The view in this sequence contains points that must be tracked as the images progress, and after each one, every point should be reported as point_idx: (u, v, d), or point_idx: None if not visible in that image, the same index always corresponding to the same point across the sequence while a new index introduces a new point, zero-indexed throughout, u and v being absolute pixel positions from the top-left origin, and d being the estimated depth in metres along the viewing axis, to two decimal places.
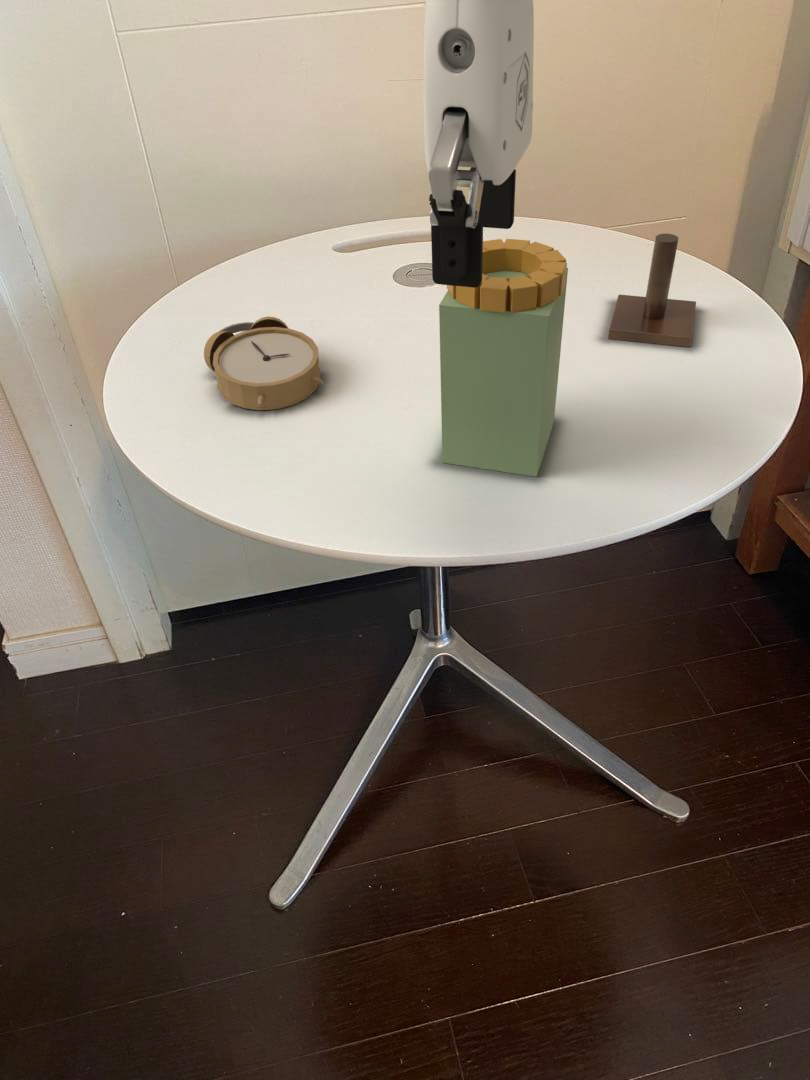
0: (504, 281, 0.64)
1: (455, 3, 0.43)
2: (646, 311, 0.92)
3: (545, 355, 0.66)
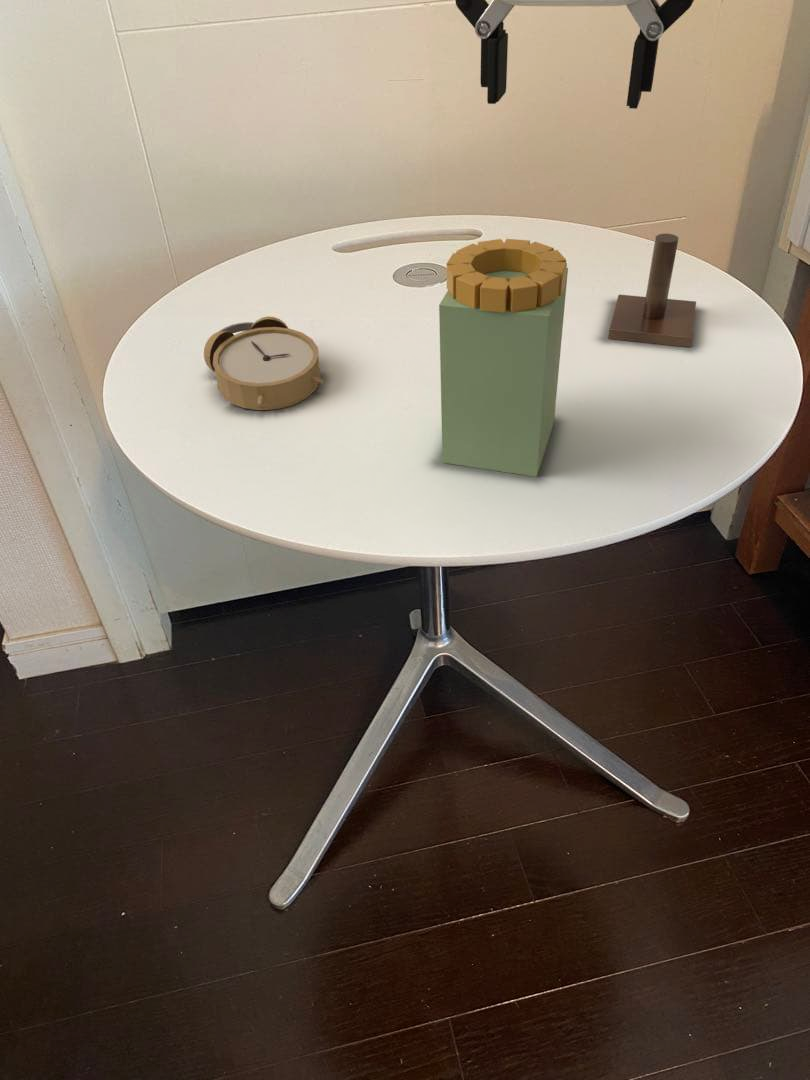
0: (504, 281, 0.64)
1: None
2: (646, 311, 0.92)
3: (545, 355, 0.66)
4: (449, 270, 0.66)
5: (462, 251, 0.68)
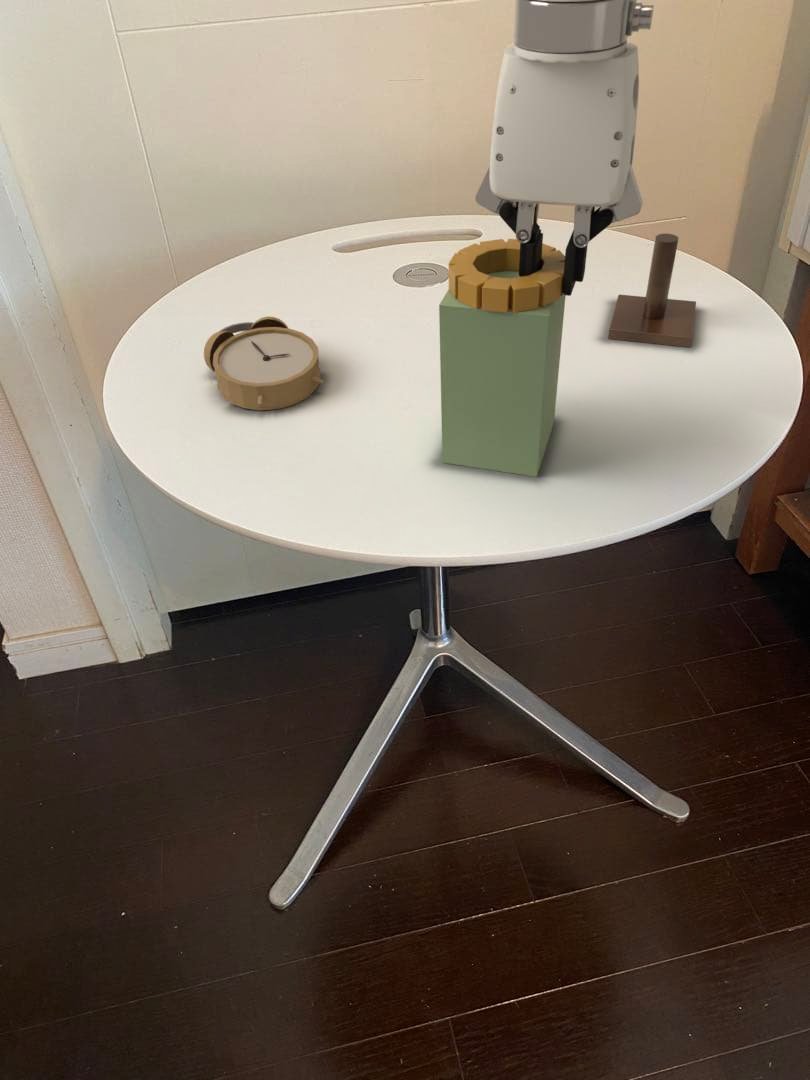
0: (506, 281, 0.64)
1: (635, 57, 0.54)
2: (646, 311, 0.92)
3: (545, 355, 0.66)
4: (451, 270, 0.66)
5: (464, 251, 0.68)
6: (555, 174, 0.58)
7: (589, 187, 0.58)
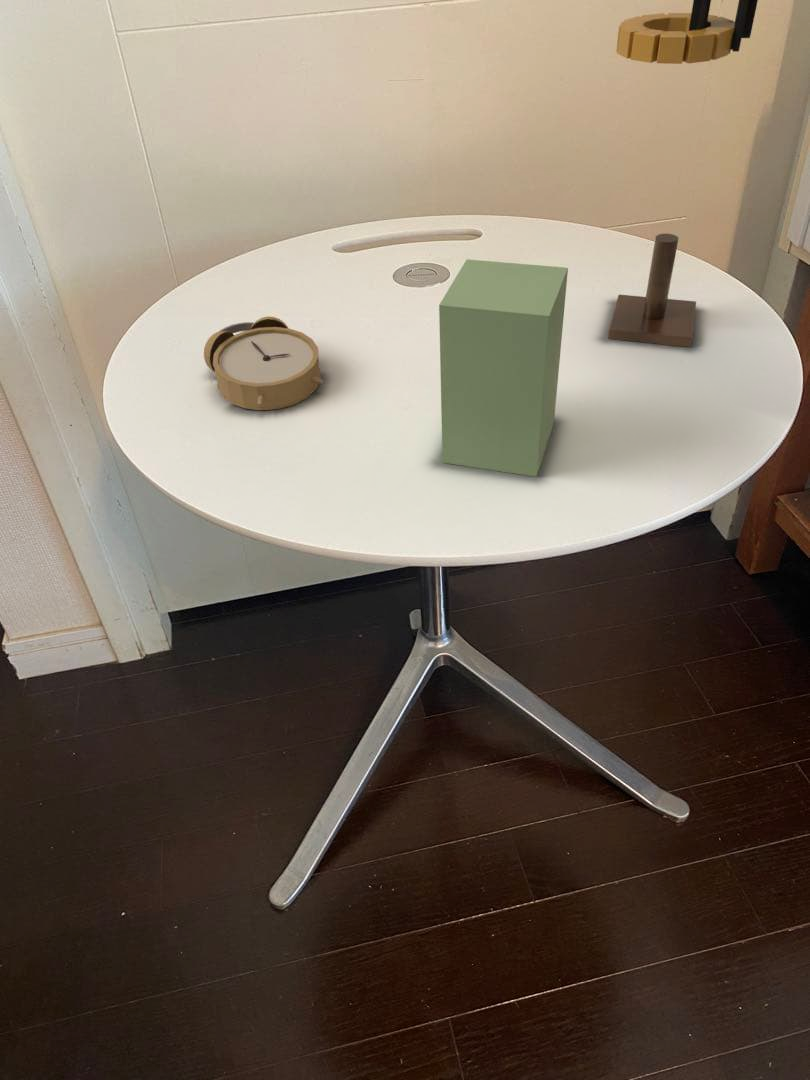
0: (681, 32, 0.67)
1: None
2: (646, 311, 0.92)
3: (545, 355, 0.66)
4: (624, 30, 0.69)
5: (630, 20, 0.72)
6: None
7: None
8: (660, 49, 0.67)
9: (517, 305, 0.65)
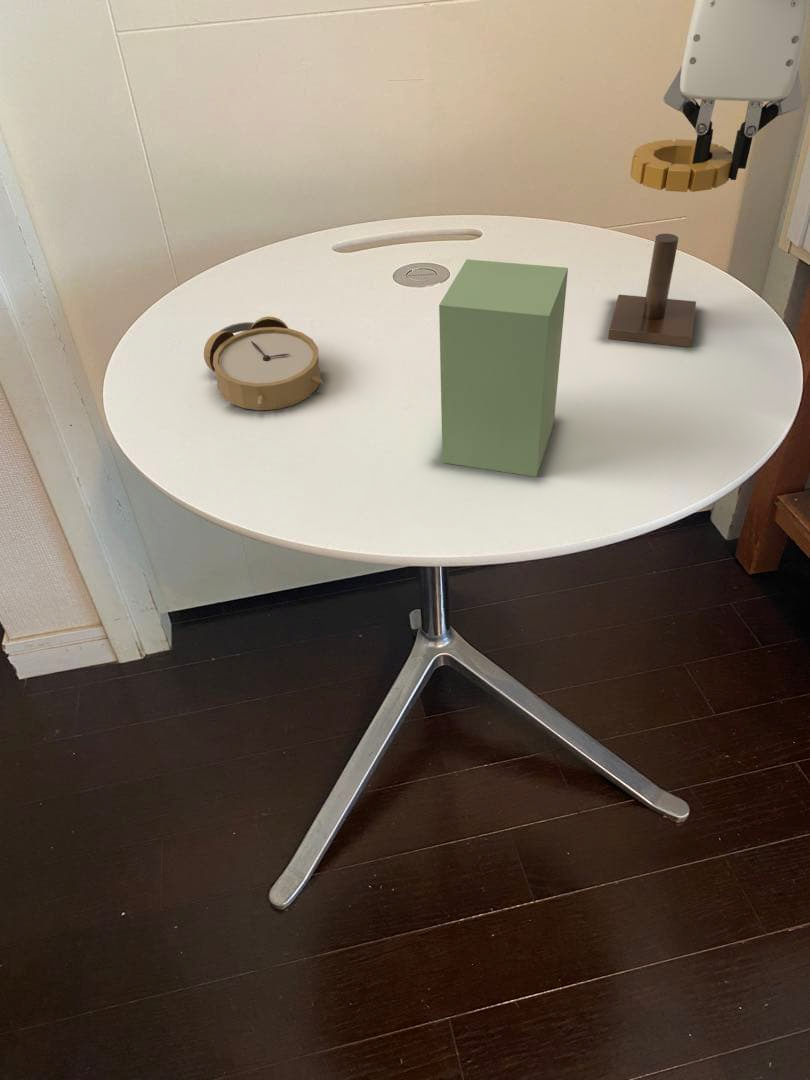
0: (687, 166, 0.79)
1: None
2: (646, 311, 0.92)
3: (545, 355, 0.66)
4: (637, 160, 0.81)
5: (643, 147, 0.83)
6: (739, 73, 0.74)
7: (765, 84, 0.74)
8: (668, 180, 0.79)
9: (517, 305, 0.65)
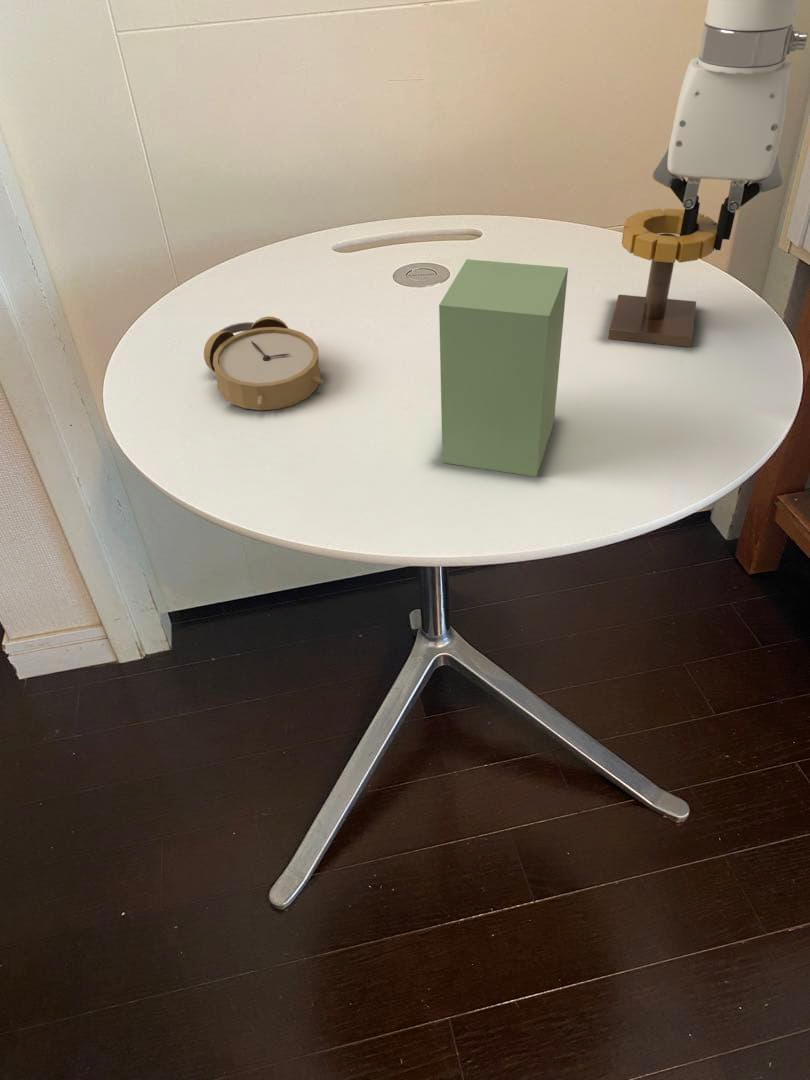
0: (674, 238, 0.84)
1: (790, 69, 0.74)
2: (646, 311, 0.92)
3: (545, 355, 0.66)
4: (628, 231, 0.86)
5: (633, 217, 0.88)
6: (722, 156, 0.78)
7: (747, 166, 0.78)
8: (657, 251, 0.84)
9: (517, 305, 0.65)
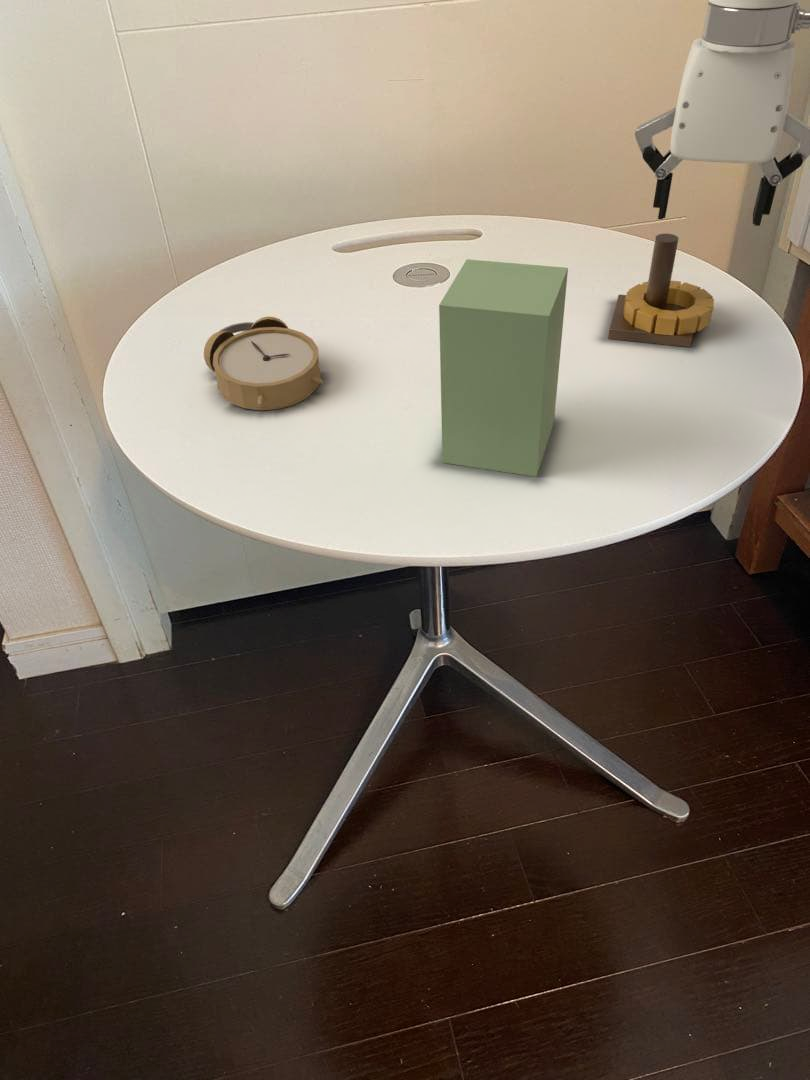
0: (673, 313, 0.89)
1: (795, 49, 0.73)
2: None
3: (545, 355, 0.66)
4: (629, 305, 0.91)
5: (633, 290, 0.94)
6: (726, 138, 0.77)
7: (751, 148, 0.77)
8: (657, 325, 0.89)
9: (517, 305, 0.65)
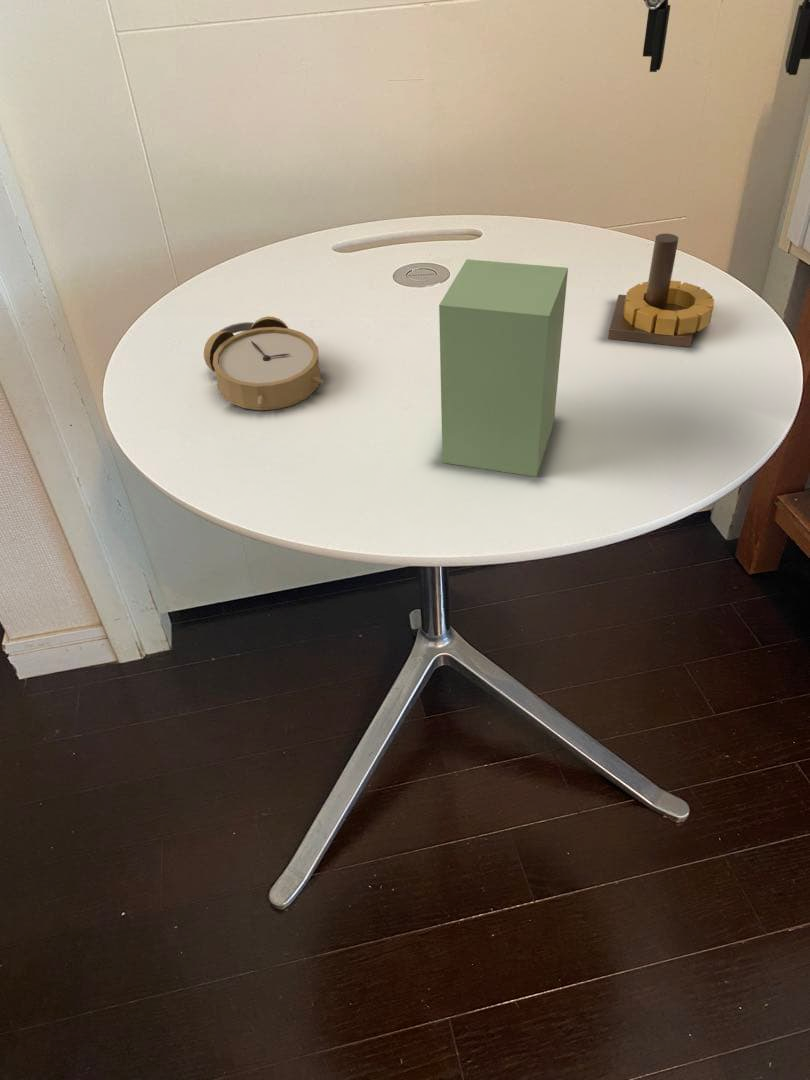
0: (673, 313, 0.89)
1: None
2: None
3: (545, 355, 0.66)
4: (629, 305, 0.91)
5: (633, 290, 0.94)
6: None
7: None
8: (657, 325, 0.89)
9: (517, 305, 0.65)
